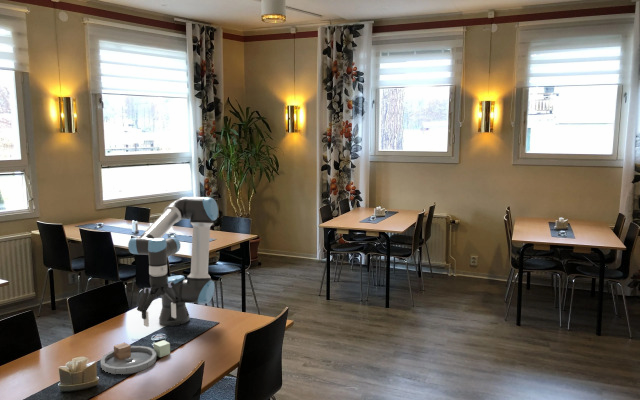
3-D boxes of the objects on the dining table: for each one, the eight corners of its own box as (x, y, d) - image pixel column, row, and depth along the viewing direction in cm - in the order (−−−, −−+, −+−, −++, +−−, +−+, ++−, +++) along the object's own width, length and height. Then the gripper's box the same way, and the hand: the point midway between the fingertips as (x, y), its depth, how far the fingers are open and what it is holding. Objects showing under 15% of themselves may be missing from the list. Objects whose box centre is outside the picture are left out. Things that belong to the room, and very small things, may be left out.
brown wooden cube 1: (114, 357, 225) (113, 345, 224) (125, 353, 228) (124, 342, 228) (120, 360, 222) (119, 349, 221) (131, 356, 225) (130, 345, 225)
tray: (91, 363, 220) (91, 357, 220) (139, 347, 237) (138, 341, 237) (117, 379, 206) (117, 373, 206) (166, 361, 223) (166, 355, 222)
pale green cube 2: (154, 354, 230) (153, 343, 229) (164, 350, 234) (163, 340, 233) (160, 357, 227) (159, 346, 226) (170, 353, 230) (169, 343, 230)
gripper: (136, 281, 213) (138, 331, 216) (188, 270, 232) (189, 315, 235) (127, 278, 218) (129, 327, 221) (178, 267, 237) (179, 312, 240)
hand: (160, 321), depth 228 cm, fingers open, 13 cm apart
